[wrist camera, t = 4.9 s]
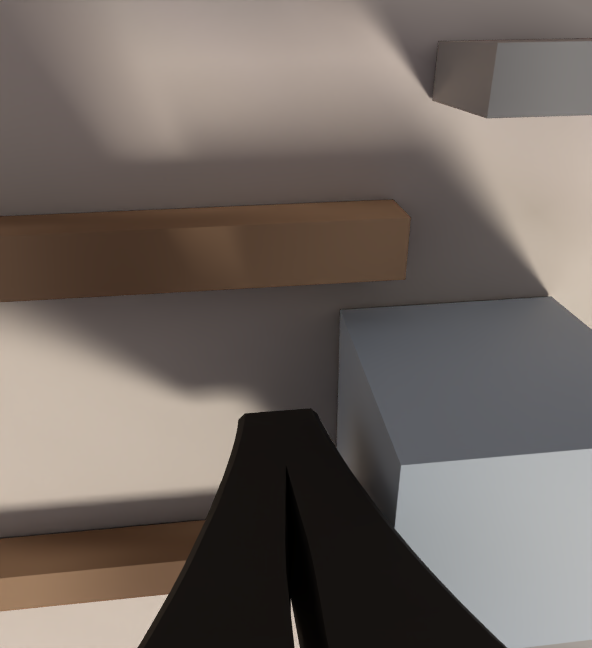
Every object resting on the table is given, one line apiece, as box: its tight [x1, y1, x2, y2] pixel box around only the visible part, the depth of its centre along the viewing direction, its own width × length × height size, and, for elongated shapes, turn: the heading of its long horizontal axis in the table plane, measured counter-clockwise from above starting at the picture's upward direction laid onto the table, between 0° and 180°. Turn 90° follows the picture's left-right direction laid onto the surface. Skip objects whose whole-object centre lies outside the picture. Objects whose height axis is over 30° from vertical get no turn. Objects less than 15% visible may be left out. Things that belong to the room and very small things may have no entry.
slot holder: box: [0, 199, 411, 611], centre depth 10 cm, size 10×8×1 cm
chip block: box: [337, 297, 592, 648], centre depth 9 cm, size 4×4×4 cm
